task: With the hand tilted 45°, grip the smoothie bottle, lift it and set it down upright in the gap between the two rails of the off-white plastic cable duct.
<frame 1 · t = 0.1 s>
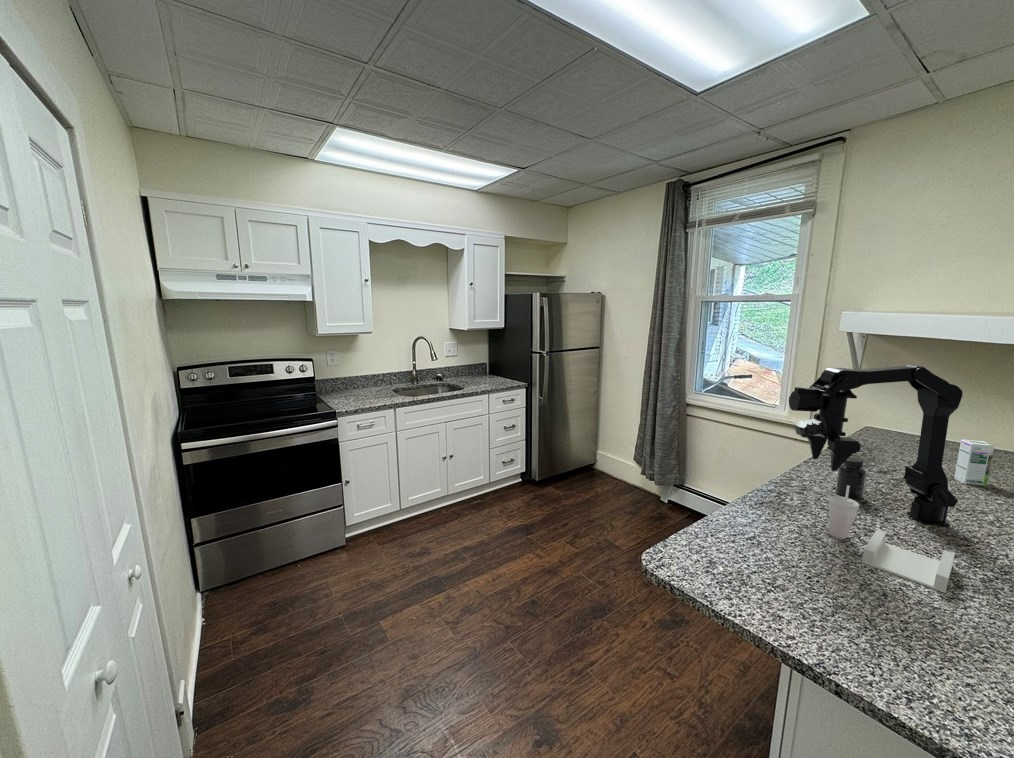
hand: (823, 464, 118), 15 cm above the countertop, tool pointing down, fingers open, 9 cm apart
duct: (906, 564, 96), on the countertop
smoothie: (838, 535, 108), on the countertop
syrup box: (969, 482, 142), on the countertop
supplement bottle: (848, 495, 132), on the countertop
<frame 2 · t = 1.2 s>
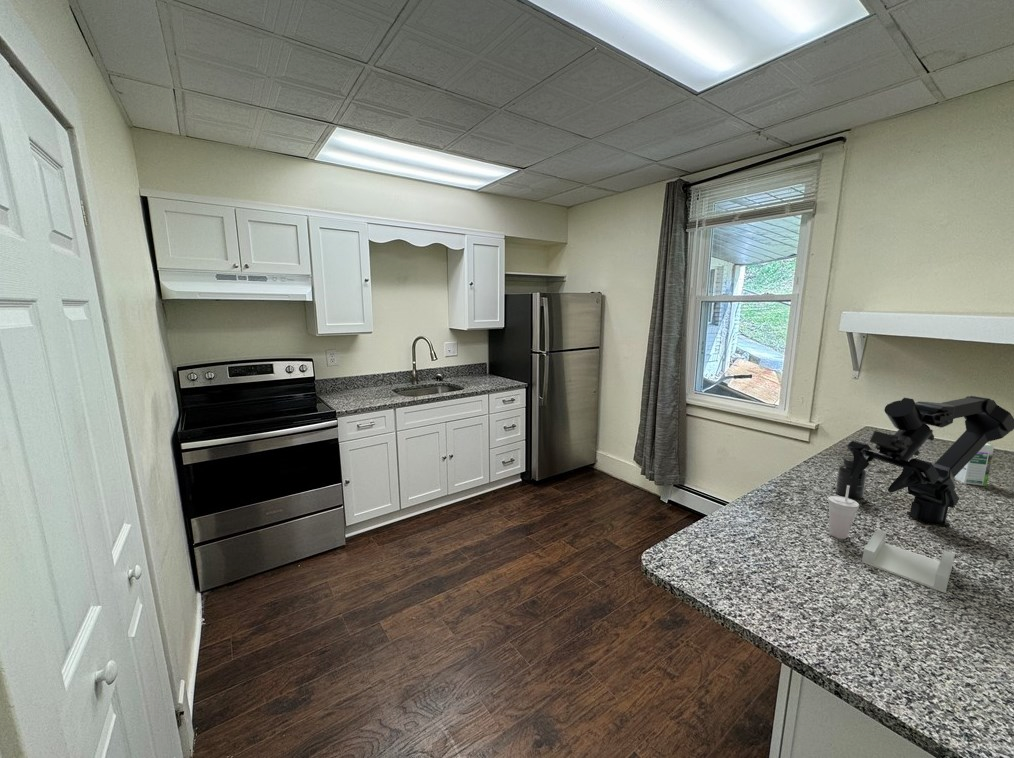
hand: (869, 483, 108), 14 cm above the countertop, tool tilted 45°, fingers open, 9 cm apart
nothing on the countertop moved.
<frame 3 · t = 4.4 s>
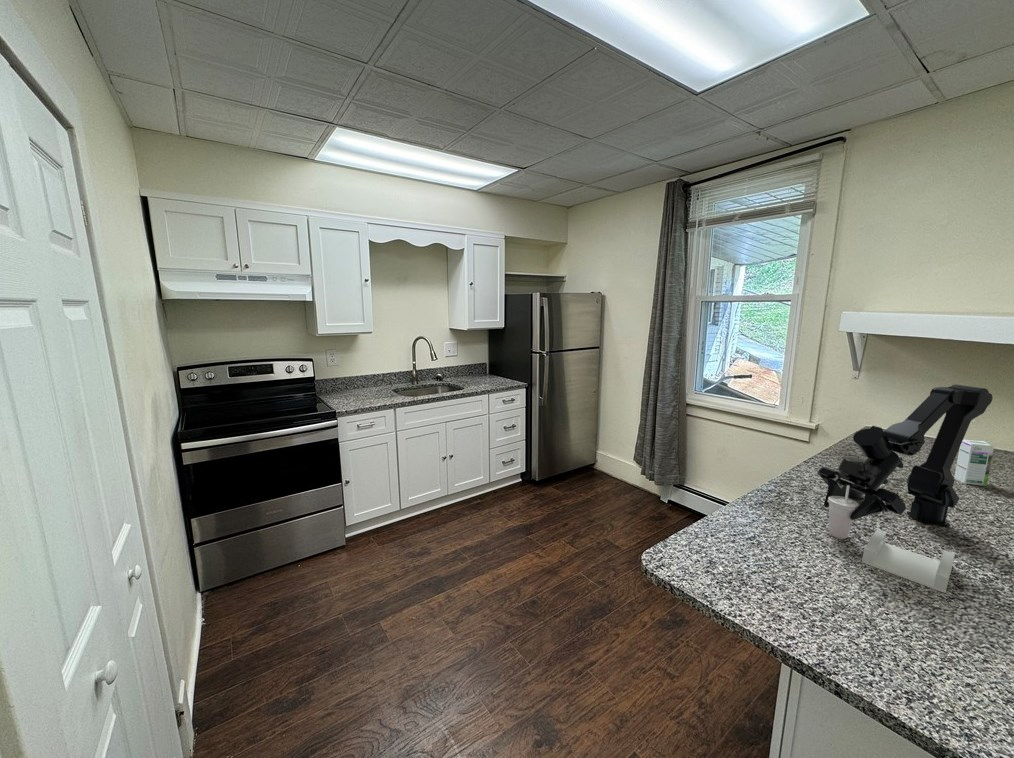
hand: (837, 512, 107), 7 cm above the countertop, tool tilted 45°, fingers closed on smoothie, 6 cm apart
smoothie: (838, 535, 108), on the countertop, touching gripper
everything else where it was.
when the fingers open (8 cm above the countertop, at t = 8.4 s): smoothie drops 1 cm, resting on duct.
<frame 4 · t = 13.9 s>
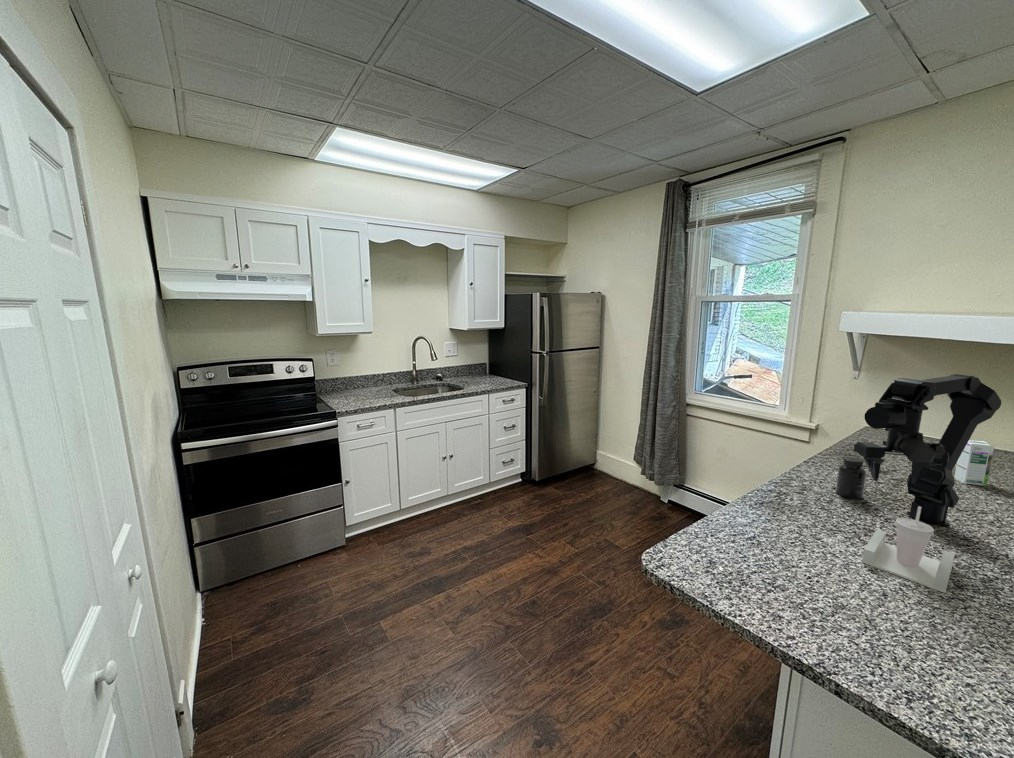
hand: (894, 481, 110), 13 cm above the countertop, tool pointing down, fingers open, 9 cm apart
smoothie: (907, 563, 96), resting on duct
everything else where it was.
at the end: smoothie 0.2 cm from the duct (horizontally); smoothie tilted 0°; the gripper is holding nothing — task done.
